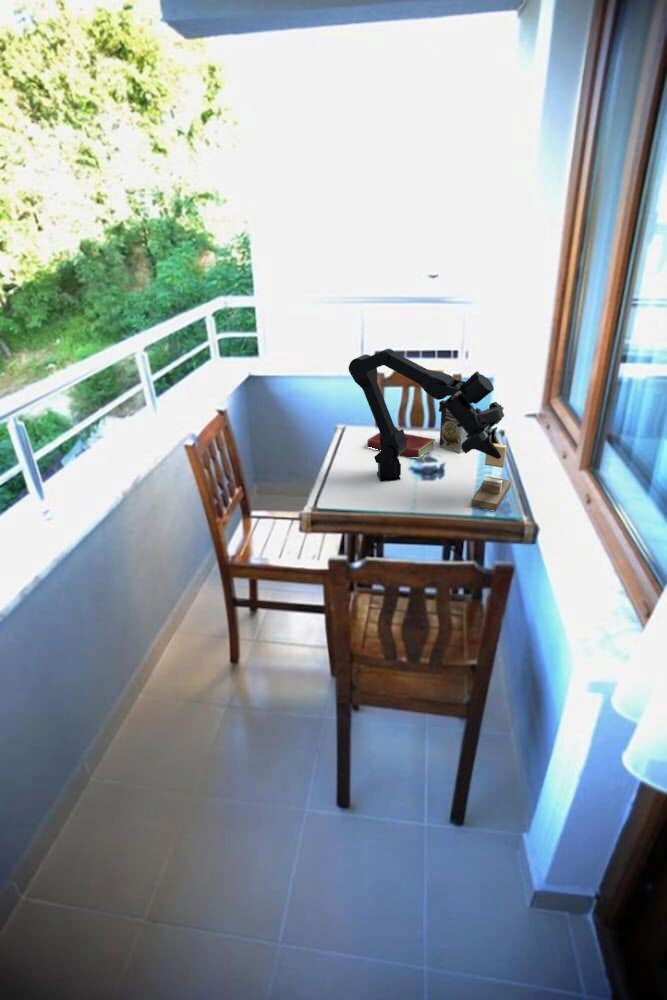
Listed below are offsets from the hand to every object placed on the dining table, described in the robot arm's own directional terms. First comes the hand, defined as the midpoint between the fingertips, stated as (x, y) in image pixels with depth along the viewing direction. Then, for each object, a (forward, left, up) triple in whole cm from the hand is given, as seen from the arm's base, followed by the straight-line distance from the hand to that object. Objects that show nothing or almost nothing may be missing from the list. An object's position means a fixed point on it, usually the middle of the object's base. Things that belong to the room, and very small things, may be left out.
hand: (500, 456), depth 139 cm
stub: (-1, +1, -3) cm, 3 cm away
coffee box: (+1, +39, -13) cm, 41 cm away
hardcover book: (-18, +43, -14) cm, 49 cm away
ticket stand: (-1, +1, -13) cm, 13 cm away
